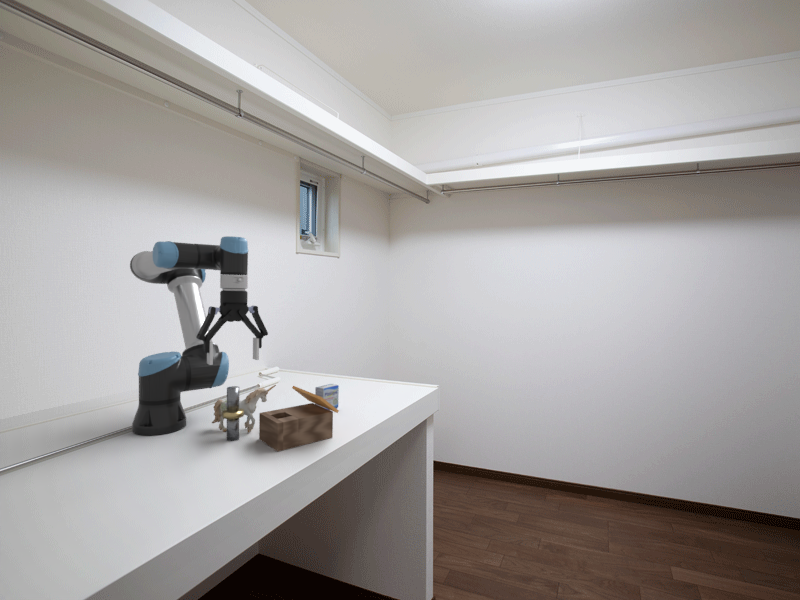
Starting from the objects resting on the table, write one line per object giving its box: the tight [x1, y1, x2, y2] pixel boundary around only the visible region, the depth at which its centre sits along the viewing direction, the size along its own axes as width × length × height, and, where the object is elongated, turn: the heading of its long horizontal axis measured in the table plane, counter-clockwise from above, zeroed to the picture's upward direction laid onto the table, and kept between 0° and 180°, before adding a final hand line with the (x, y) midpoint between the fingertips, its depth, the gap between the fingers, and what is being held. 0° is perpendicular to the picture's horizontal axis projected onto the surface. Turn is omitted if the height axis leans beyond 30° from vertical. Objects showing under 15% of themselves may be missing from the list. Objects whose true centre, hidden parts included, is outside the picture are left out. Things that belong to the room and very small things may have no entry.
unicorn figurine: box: [211, 384, 277, 434], centre depth 140 cm, size 7×20×13 cm, turn 104°
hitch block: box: [258, 402, 334, 453], centre depth 133 cm, size 18×12×8 cm, turn 132°
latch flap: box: [291, 385, 340, 414], centre depth 137 cm, size 8×17×1 cm
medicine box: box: [314, 383, 340, 410], centre depth 165 cm, size 8×4×9 cm, turn 143°
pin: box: [222, 385, 245, 442], centre depth 131 cm, size 6×6×16 cm
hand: (233, 361), depth 131 cm, fingers open, 13 cm apart
